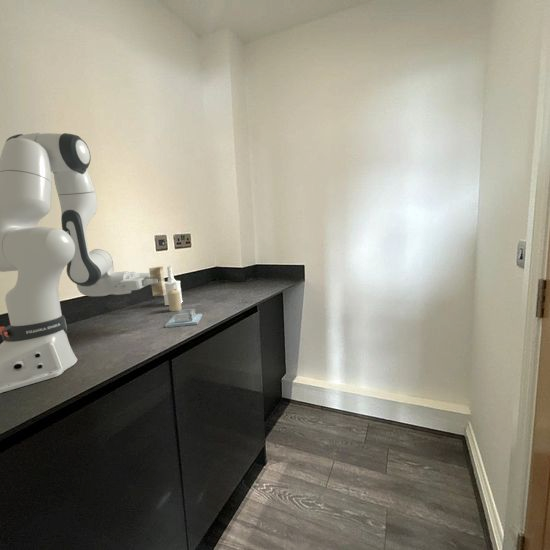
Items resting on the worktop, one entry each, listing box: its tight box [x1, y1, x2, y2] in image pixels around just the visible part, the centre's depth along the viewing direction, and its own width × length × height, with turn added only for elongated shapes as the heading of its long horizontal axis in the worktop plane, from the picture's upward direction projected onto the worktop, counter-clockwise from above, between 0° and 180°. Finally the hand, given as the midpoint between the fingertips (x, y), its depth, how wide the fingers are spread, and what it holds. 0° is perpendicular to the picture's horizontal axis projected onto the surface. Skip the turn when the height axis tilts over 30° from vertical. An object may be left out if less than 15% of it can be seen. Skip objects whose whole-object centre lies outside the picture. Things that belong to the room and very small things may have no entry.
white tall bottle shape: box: [163, 265, 184, 306], centre depth 151 cm, size 10×9×20 cm
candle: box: [167, 289, 183, 312], centre depth 139 cm, size 6×6×10 cm
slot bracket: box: [173, 308, 197, 323], centre depth 118 cm, size 8×7×3 cm
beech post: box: [148, 266, 166, 297], centre depth 115 cm, size 4×4×11 cm
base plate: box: [164, 313, 203, 328], centre depth 118 cm, size 12×12×1 cm
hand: (160, 279), depth 115 cm, fingers closed on beech post, 4 cm apart
